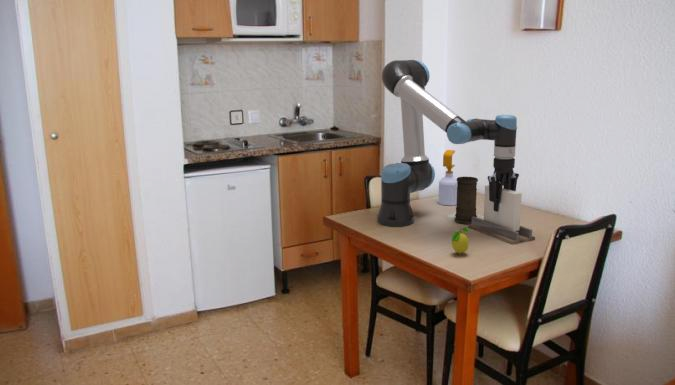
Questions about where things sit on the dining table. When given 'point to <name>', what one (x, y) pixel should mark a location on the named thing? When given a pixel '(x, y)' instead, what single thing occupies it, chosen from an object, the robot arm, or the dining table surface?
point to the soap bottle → (448, 182)
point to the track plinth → (502, 231)
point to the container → (466, 199)
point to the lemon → (460, 241)
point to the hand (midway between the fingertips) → (501, 218)
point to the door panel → (504, 209)
